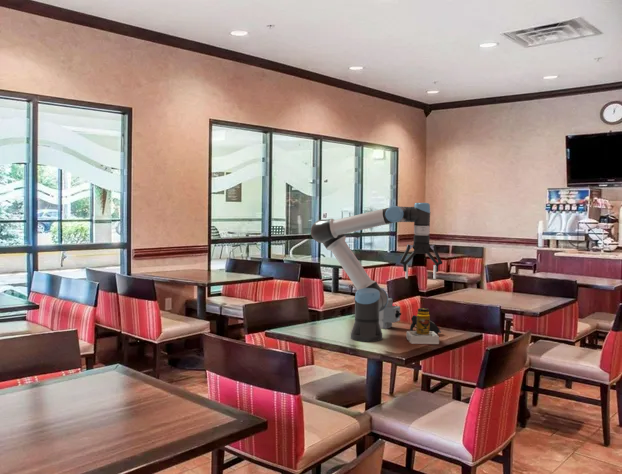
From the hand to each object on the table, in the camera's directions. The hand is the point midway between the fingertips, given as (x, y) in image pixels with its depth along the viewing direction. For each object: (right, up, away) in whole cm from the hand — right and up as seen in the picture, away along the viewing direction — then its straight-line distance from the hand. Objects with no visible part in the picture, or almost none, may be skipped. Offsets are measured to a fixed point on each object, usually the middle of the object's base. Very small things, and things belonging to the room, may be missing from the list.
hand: (420, 278), depth 284 cm
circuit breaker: (-13, -28, +25) cm, 40 cm away
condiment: (-1, -26, -7) cm, 27 cm away
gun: (+4, -29, +10) cm, 31 cm away
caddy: (0, -29, -7) cm, 30 cm away
